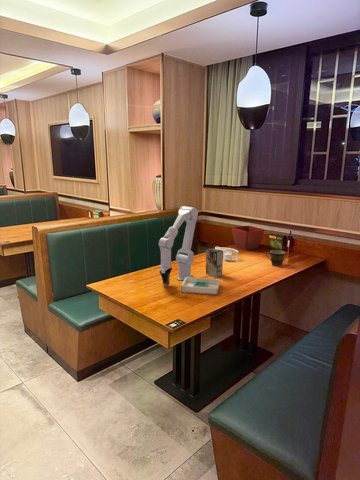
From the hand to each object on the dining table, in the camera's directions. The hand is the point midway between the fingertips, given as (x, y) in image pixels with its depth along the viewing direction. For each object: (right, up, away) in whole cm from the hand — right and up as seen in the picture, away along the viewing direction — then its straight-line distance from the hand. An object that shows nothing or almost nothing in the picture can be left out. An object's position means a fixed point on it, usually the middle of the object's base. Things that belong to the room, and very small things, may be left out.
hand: (166, 281), depth 195 cm
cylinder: (0, -2, 0) cm, 2 cm away
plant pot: (+63, +17, +85) cm, 107 cm away
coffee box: (+30, +2, +21) cm, 36 cm away
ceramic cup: (+73, +6, +39) cm, 83 cm away
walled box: (+20, -4, -3) cm, 20 cm away
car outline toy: (+41, +10, +55) cm, 69 cm away
